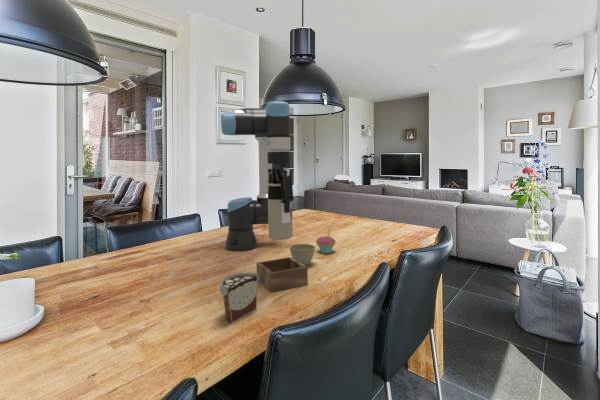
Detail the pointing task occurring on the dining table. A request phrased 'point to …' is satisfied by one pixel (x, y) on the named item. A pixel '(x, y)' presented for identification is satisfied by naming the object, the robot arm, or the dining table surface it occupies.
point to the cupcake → (325, 243)
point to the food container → (239, 295)
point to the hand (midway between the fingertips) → (280, 220)
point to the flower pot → (302, 253)
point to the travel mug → (277, 215)
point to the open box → (282, 274)
